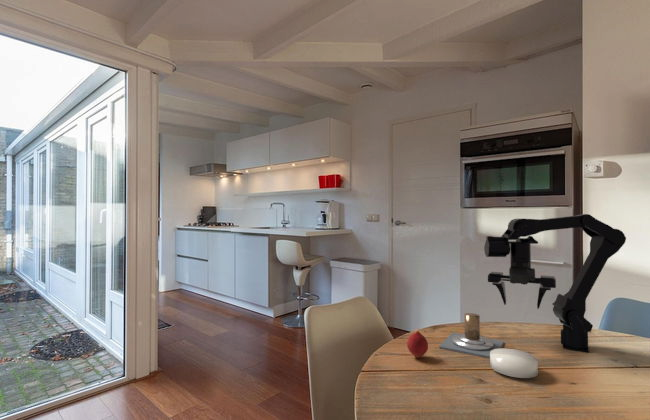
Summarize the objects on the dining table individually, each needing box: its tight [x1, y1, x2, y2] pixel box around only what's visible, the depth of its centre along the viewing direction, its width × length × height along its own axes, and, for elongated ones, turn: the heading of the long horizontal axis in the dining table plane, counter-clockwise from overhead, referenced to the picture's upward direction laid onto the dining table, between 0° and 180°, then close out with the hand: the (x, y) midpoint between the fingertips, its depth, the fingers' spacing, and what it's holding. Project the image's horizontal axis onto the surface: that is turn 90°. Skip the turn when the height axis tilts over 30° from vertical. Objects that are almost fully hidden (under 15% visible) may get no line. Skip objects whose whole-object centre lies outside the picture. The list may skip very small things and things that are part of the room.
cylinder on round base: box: [452, 312, 493, 351], centre depth 110 cm, size 12×12×9 cm
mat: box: [438, 332, 505, 359], centre depth 110 cm, size 16×16×1 cm
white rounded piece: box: [489, 347, 539, 379], centre depth 91 cm, size 11×11×4 cm
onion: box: [406, 329, 429, 359], centre depth 101 cm, size 6×6×8 cm
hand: (521, 306), depth 111 cm, fingers open, 9 cm apart
